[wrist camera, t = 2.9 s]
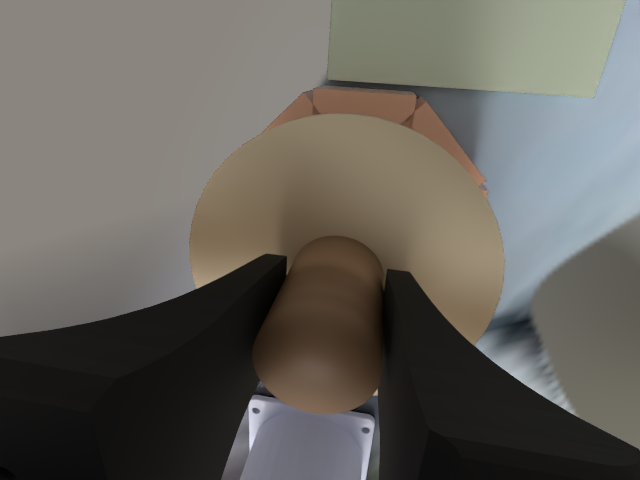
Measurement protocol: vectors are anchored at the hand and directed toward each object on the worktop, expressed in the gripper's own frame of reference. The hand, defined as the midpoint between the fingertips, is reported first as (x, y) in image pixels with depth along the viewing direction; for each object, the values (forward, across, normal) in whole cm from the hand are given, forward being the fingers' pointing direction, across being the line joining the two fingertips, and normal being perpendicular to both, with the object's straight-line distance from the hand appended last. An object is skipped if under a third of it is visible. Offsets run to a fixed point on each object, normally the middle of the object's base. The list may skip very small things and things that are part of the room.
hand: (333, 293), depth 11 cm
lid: (+1, 0, 0) cm, 1 cm away
